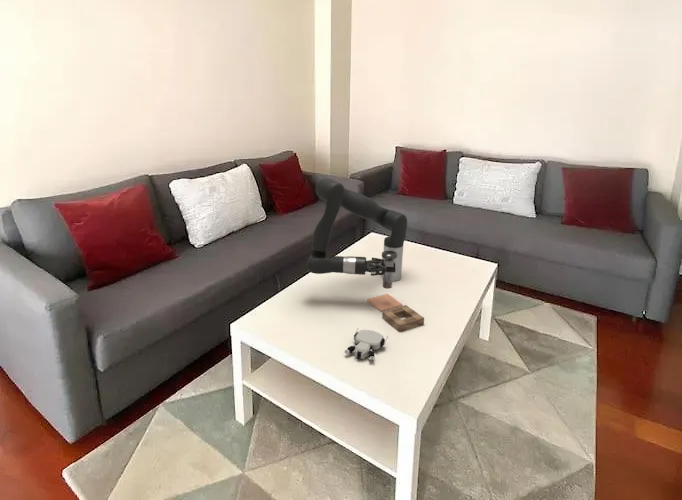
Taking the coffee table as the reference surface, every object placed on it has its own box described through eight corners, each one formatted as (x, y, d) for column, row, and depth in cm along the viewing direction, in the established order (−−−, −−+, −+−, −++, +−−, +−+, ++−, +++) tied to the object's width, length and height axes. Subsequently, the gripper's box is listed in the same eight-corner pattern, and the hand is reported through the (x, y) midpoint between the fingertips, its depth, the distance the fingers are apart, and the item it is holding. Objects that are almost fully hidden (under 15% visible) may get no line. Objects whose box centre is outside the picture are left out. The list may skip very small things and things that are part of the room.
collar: (382, 318, 190) (382, 311, 189) (405, 311, 195) (406, 305, 194) (399, 332, 180) (400, 325, 179) (423, 324, 186) (424, 317, 184)
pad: (366, 300, 203) (367, 299, 203) (387, 295, 208) (387, 293, 208) (381, 311, 194) (381, 310, 194) (402, 305, 200) (402, 304, 199)
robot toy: (374, 367, 160) (388, 343, 173) (374, 357, 158) (389, 333, 171) (342, 358, 165) (358, 335, 177) (342, 348, 163) (358, 325, 175)
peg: (376, 285, 198) (378, 252, 192) (389, 281, 201) (391, 249, 195) (385, 291, 193) (387, 257, 187) (397, 287, 196) (400, 254, 190)
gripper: (353, 264, 187) (396, 266, 185) (355, 250, 200) (395, 252, 199) (353, 280, 189) (395, 283, 188) (355, 266, 203) (394, 268, 201)
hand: (395, 267), depth 193 cm, fingers closed on peg, 4 cm apart
